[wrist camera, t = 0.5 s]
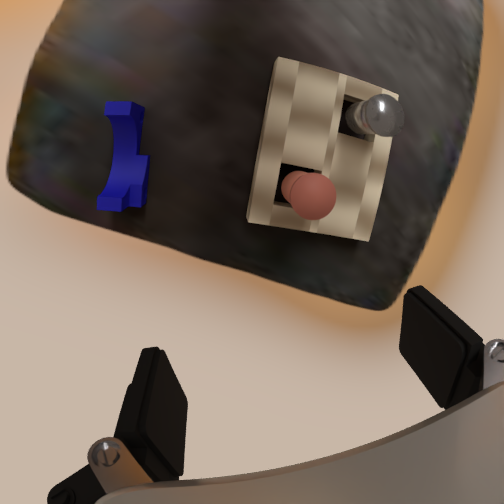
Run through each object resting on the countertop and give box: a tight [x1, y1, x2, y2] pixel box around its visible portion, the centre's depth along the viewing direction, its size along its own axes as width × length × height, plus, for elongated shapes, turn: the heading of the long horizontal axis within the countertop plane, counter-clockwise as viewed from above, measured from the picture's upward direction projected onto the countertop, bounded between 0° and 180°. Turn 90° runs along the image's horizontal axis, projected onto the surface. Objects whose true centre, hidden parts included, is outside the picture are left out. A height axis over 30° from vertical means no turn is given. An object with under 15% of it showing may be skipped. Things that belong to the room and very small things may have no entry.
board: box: [246, 57, 399, 241], centre depth 35 cm, size 20×16×3 cm
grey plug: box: [345, 94, 404, 137], centre depth 29 cm, size 5×5×6 cm
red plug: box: [281, 171, 336, 220], centre depth 31 cm, size 5×5×6 cm
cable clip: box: [97, 102, 150, 212], centre depth 31 cm, size 12×4×6 cm, turn 172°
